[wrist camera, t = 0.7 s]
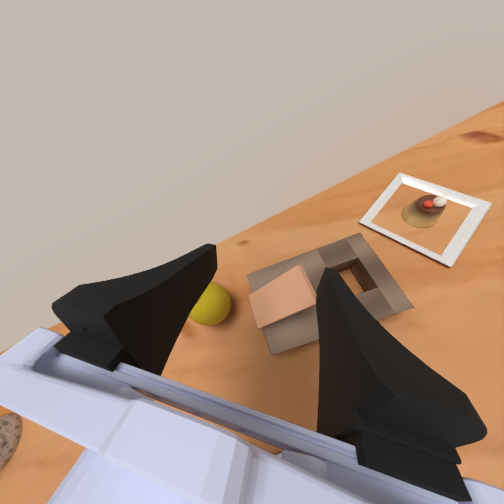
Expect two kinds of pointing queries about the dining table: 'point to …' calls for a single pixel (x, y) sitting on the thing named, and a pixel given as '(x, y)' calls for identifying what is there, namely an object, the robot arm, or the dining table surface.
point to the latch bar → (282, 297)
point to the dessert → (430, 215)
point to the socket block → (314, 262)
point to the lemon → (211, 306)
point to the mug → (9, 436)
